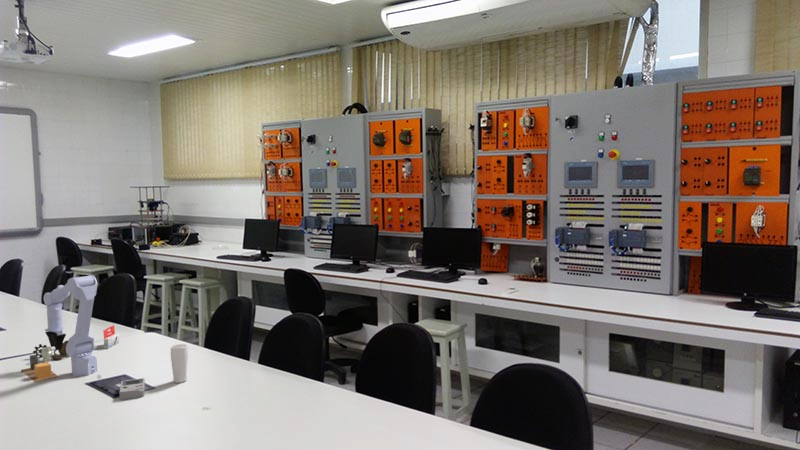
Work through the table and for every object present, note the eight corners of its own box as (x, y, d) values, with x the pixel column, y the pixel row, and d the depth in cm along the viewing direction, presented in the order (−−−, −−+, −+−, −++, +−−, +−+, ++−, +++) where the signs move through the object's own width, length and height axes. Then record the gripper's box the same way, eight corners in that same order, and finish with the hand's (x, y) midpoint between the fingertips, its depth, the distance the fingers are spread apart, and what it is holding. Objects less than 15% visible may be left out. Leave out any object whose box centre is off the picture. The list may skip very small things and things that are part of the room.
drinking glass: (191, 380, 246) (190, 345, 245) (176, 385, 241) (175, 349, 240) (184, 377, 251) (182, 343, 250) (168, 381, 246) (167, 346, 245)
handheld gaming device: (119, 401, 224) (119, 391, 224) (121, 389, 238) (121, 380, 238) (144, 398, 228) (144, 388, 228) (144, 386, 241) (144, 377, 241)
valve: (56, 360, 278) (48, 355, 286) (56, 347, 277) (47, 342, 285) (41, 363, 273) (32, 358, 281) (40, 349, 272) (32, 345, 280)
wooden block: (59, 379, 249) (58, 363, 249) (35, 384, 243) (34, 368, 242) (43, 367, 266) (43, 352, 266) (20, 371, 260) (20, 356, 259)
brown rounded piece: (83, 343, 288) (69, 337, 291) (59, 347, 276) (45, 341, 280) (80, 357, 288) (67, 351, 292) (56, 362, 276) (42, 355, 280)
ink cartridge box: (119, 343, 308) (118, 324, 307) (108, 349, 297) (107, 330, 296) (114, 343, 308) (113, 324, 307) (103, 349, 297) (102, 330, 296)
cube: (51, 376, 250) (50, 364, 250) (38, 378, 247) (37, 367, 247) (48, 373, 254) (47, 362, 254) (34, 376, 250) (34, 364, 250)
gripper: (40, 317, 266) (41, 346, 267) (49, 322, 255) (50, 353, 256) (57, 314, 271) (59, 343, 272) (67, 319, 260) (68, 349, 261)
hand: (56, 348), depth 264 cm, fingers open, 7 cm apart
